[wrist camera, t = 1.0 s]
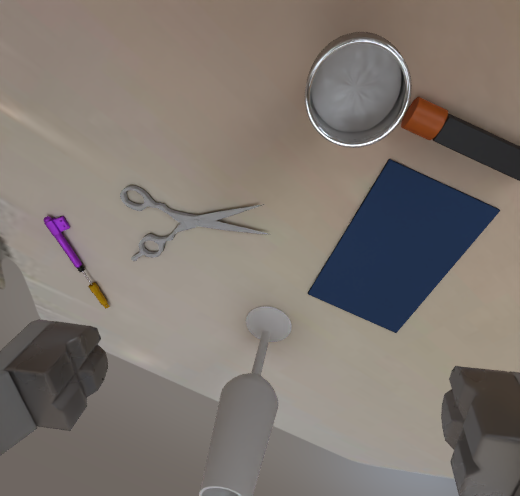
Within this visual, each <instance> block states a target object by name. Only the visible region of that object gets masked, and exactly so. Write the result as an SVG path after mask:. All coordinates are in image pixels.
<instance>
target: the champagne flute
mask: <svg viewBox="0 0 520 496" xmlns="http://www.w3.org/2000/svg"><path fill="white" fill-rule="evenodd" d="M246 325H247V328H248V330H249V331H250V332H251V333H252V335H254V336H255V337H256V338H258V339H260V343H259V346H258V350H257V354H256V358H255V361H254V365H253V369H252V373H248V374H242V375H239V376H237V377H235V378H233V379H232V380H230V381H229V382H228V383H227V384H226V385H225V386H224V388H223V389H222V392H221V396H220V401H219V406H218V411H217V415H216V419H215V424H214V428H213V433H212V437H211V442H210V447H209V451H208V456H207V460H206V465H205V469H204V474H203V479H202V483H201V488H200V493H199V496H253V493H254V490H255V486H256V483H257V479H258V475H259V472H260V468H261V465H262V462H263V458H264V454H265V451H266V448H267V444H268V441H269V437H270V433H271V430H272V427H273V423H274V420H275V416H276V413H277V409H278V398H277V396H276V393H275V391H274V389H273V388H272V386H271V385H270V383H269V382H268V381H267V380H265V379H264V378H263V377H262V376H261V372H262V367H263V363H264V359H265V355H266V351H267V346H268V342H277V341H281V340H283V339H285V338H286V337H287V336H288V335H289V334H290V332H291V328H292V327H291V322H290V319H289V318H288V316H287V315H286V314H285V313H283V312H282V311H280V310H279V309H276V308H273V307H268V306H263V307H258V308H255V309H253V310H252V311H250V312H249V314H248V315H247V318H246Z"/></svg>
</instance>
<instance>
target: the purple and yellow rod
mask: <svg viewBox="0 0 520 496" xmlns="http://www.w3.org/2000/svg"><path fill="white" fill-rule="evenodd" d="M44 222H45V225H46V226H47V228H48V229H49V231H50V232H51V233H52V235H53V236H54V237H55V238H56V239H57V241H58V242H59V244H60V245H61V247H62V248H63V250H64V251H65V253H66V254H67V255H68V257H69V258H70V260H71V261H72V263H73V264H74V266H75V267H76V268H77V269H78V271H80V272H83V274H84V275H85V277H86V278H87V279H88V281H89V282H90V285H89V286H88V287H89V288H90V290H91V291H92V293H94V295H95V296H96V297H97V299H98V300H99V302H100V303H101V305H103V306H104V307H105V309H106V308H108V307H110V306H109V305H108V303H107V300H106V298H105V297H104V295H103V294H102V293H101V291H100V290H99V289H100V288H99V287H98V285H97V284H96V283H95V282H94V283H91V281H90V280H89V278H88V277H87V275H86V274H85V272H84V270H85V269H84V267H83V265H82V263H81V261H80V260H79V258H78V257H77V255H76V254H75V252H74V251H73V249H72V248H71V246H70V245H69V243H68V242H67V240H66V239H65V238H64V236H63V235H62V233H61V232H62V231H64V230H67V229H69V228H70V226H69V224H68V223H67V221H66V220H65V218H64V216H61V217H59V218H51V217H49V216H47V217H45V218H44ZM106 305H107V306H106Z"/></svg>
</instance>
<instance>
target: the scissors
mask: <svg viewBox="0 0 520 496" xmlns="http://www.w3.org/2000/svg"><path fill="white" fill-rule="evenodd" d="M127 190H135V191H136V192H138V193H139V194H141V195H142V196H143V198H144V204H136V203H133V202H131V201H130V200H128V198H127V193H126V192H127ZM120 197H121V199H122V202H123V203H124V204H125V205H126V206H127V207H129V208H131V209H134V210H137V211H142V210H143V209H145V208H146V207H147V206H149V207H154V208H158V209H160V210H162V211H164V212H165V213H167V214H169V215H170V216H171V217H172V218H174V219H175V220H177V221H178V222H180V224H179V226H178V227H177V228H176V229H175V230H174V231H173V232H172V233H171V234H170V235H168V236H166V237H157V236H155V235H153V234H148V235H146V236H145V237H144V238H143V239H142V240H141V241H140V243H139V249H140V252H139V253H138V254H135V255H134V256H133V257H132V258H131V259H132V260H133V261H136V260H137V259H138V258H139V257H141V256H142V255H145V256H147V257H152V258H153V257H158V256H159V255H160V254H161V253H162V251H163V250H164V247H165V242H166V241H169V240H173V238H174V236H175V234H176V232H179V231H184V230H188V229H191V228H194V227H198V226H200V227H207V228H213V229H220V230H228V231H238V232H247V233H256V234H268V233H264V232H260V231H256V230H252V229H248V228H244V227H239V226H235V225H230V224H227V223H223V222H219V221H216V220H220V219H223V218H226V217H229V216H232V215H235V214H238V213H241V212H244V211H247V210H250V209H253V208H256V207H259V206H261V205H257V206H250V207H244V208H237V209H231V210H225V211H219V212H213V213H208V214H203V215H198V216H197V215H194V214H188V213H182V212H178V211H174V210H171V209H169V208H168V207H167V206H166V205H165V204H164V203H156V202H155V201H154V200H153V199H152V198H151V197H150V196H149V194H148V193H147V192H146V191H145V190H143V189H142V188H140V187H138V186H127V187H126V188H124V189H123V190H122V192H121V194H120ZM263 205H264V204H263ZM145 241H154V242H156V243H157V244H158V246H159V251H157V252H150V251H148V250H147V249H146V248H145V247H144V242H145Z"/></svg>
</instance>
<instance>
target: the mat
mask: <svg viewBox="0 0 520 496" xmlns="http://www.w3.org/2000/svg"><path fill="white" fill-rule="evenodd" d="M499 211H500V210H499V209H497V208H495V207H493V206H491V205H489V204H486V203H484V202H482V201H480V200H478V199H476V198H473V197H471V196H469V195H467V194H465V193H462V192H460V191H458V190H456V189H454V188H452V187H449V186H447V185H445V184H443V183H441V182H438V181H436V180H434V179H432V178H430V177H428V176H425V175H423V174H421V173H419V172H417V171H415V170H412V169H410V168H408V167H406V166H404V165H401V164H399V163H397V162H395V161H393V160H391V159H389V160H388V162H387V163H386V165H385V167H384V168H383V170H382V172H381V173H380V175H379V177H378V178H377V180H376V182H375V183H374V185H373V186H372V188H371V190H370V191H369V193H368V195H367V196H366V198H365V200H364V201H363V203H362V205H361V206H360V208H359V210H358V211H357V213H356V214H355V216H354V218H353V219H352V221H351V223H350V224H349V226H348V228H347V229H346V231H345V233H344V234H343V236H342V237H341V239H340V241H339V242H338V244H337V246H336V247H335V249H334V251H333V252H332V254H331V256H330V257H329V259H328V261H327V262H326V264H325V265H324V267H323V269H322V270H321V272H320V274H319V275H318V277H317V279H316V280H315V282H314V284H313V285H312V287H311V289H310V290H309V292H308V294H309V295H311V296H313V297H316V298H318V299H320V300H322V301H325V302H327V303H329V304H331V305H334V306H336V307H338V308H341V309H343V310H345V311H347V312H350V313H352V314H354V315H356V316H359V317H361V318H363V319H365V320H368V321H370V322H372V323H375V324H377V325H379V326H381V327H384V328H386V329H388V330H390V331H393V332H395V333H397V332H398V330H399V329H400V328H401V327H402V326H403V324H404V323H405V322H406V321H407V320H408V319H409V317H410V316H411V315H412V314H413V313H414V312H415V310H416V309H417V308H418V307H419V306H420V304H421V303H422V302H423V301H424V300H425V299H426V297H427V296H428V295H429V294H430V293H431V292H432V290H433V289H434V288H435V287H436V286H437V284H438V283H439V282H440V281H441V280H442V279H443V277H444V276H445V275H446V274H447V273H448V271H449V270H450V269H451V268H452V267H453V266H454V264H455V263H456V262H457V261H458V260H459V259H460V257H461V256H462V255H463V254H464V253H465V251H466V250H467V249H468V248H469V247H470V246H471V244H472V243H473V242H474V241H475V240H476V239H477V237H478V236H479V235H480V234H481V233H482V231H483V230H484V229H485V228H486V227H487V226H488V224H489V223H490V222H491V221H492V220H493V218H494V217H495V216H496V215H497V214H498V213H499Z"/></svg>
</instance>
